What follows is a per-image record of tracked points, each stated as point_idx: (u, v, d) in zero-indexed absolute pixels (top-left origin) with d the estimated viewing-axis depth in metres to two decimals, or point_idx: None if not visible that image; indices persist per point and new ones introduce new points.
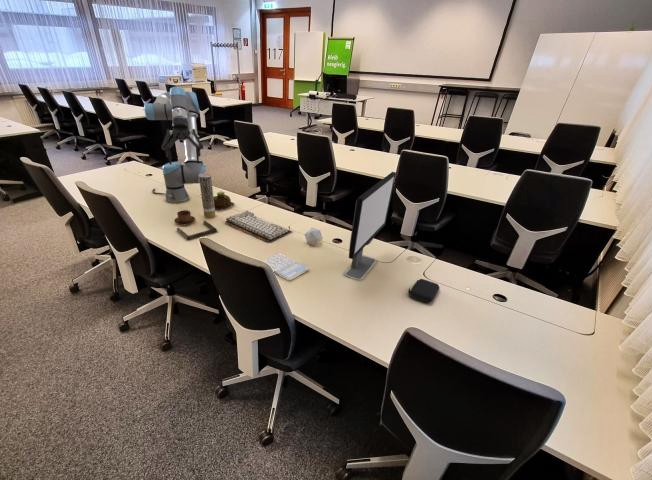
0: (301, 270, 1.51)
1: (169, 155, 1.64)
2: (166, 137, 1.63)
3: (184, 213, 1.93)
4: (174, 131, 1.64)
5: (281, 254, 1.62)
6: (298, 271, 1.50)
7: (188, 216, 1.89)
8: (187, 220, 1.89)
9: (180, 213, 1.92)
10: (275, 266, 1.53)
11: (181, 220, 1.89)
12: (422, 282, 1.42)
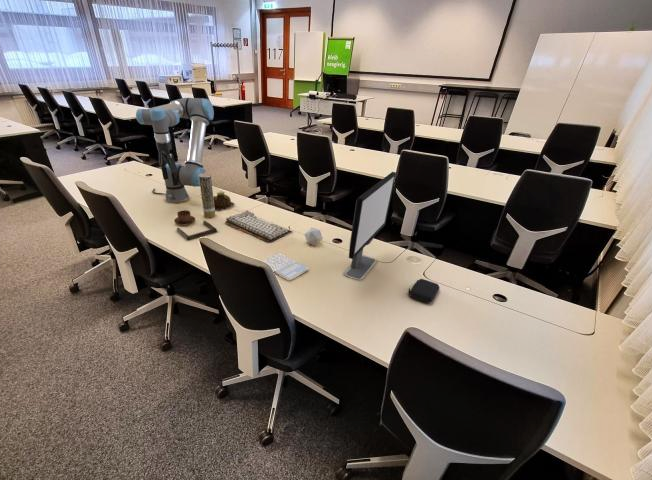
0: (301, 270, 1.51)
1: (162, 173, 1.89)
2: (159, 156, 1.85)
3: (184, 213, 1.93)
4: (161, 152, 1.80)
5: (281, 254, 1.62)
6: (298, 271, 1.50)
7: (188, 216, 1.89)
8: (187, 220, 1.89)
9: (180, 213, 1.92)
10: (275, 266, 1.53)
11: (181, 220, 1.89)
12: (422, 282, 1.42)
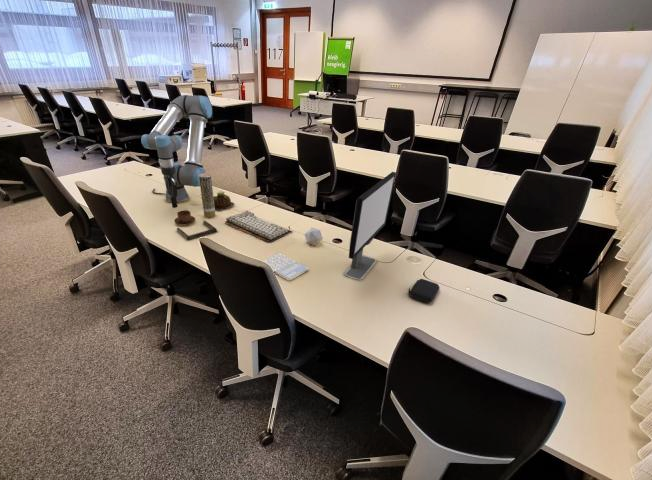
0: (301, 270, 1.51)
1: (171, 202, 1.94)
2: (166, 184, 1.91)
3: (184, 213, 1.93)
4: (165, 176, 1.88)
5: (281, 254, 1.62)
6: (298, 271, 1.50)
7: (188, 216, 1.89)
8: (187, 220, 1.89)
9: (180, 213, 1.92)
10: (275, 266, 1.53)
11: (181, 220, 1.89)
12: (422, 282, 1.42)
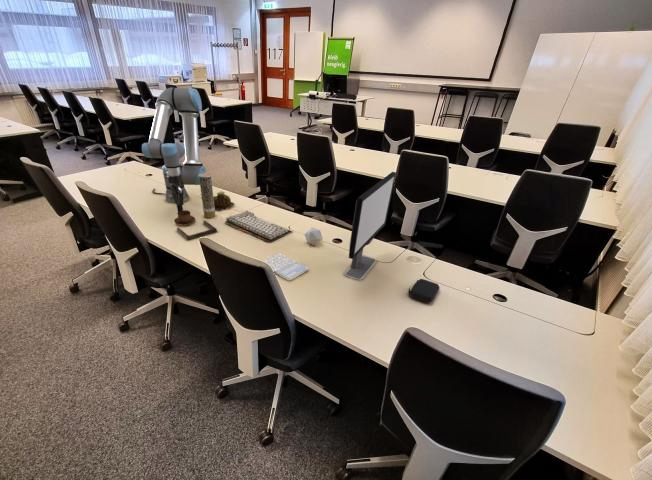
0: (301, 270, 1.51)
1: None
2: (172, 192, 1.88)
3: (184, 213, 1.93)
4: (171, 184, 1.85)
5: (281, 254, 1.62)
6: (298, 271, 1.50)
7: (188, 216, 1.89)
8: (187, 220, 1.89)
9: (180, 213, 1.92)
10: (275, 266, 1.53)
11: (181, 220, 1.89)
12: (422, 282, 1.42)
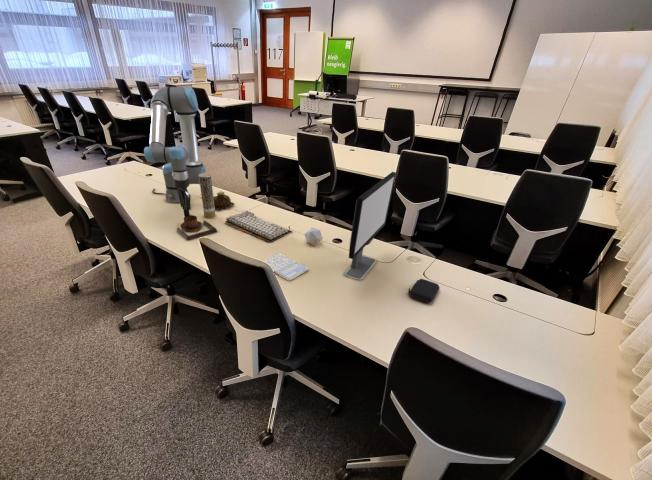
0: (301, 270, 1.51)
1: (184, 215, 1.86)
2: (178, 197, 1.83)
3: (191, 218, 1.88)
4: (178, 188, 1.79)
5: (281, 254, 1.62)
6: (298, 271, 1.50)
7: (194, 221, 1.83)
8: (193, 226, 1.84)
9: (187, 218, 1.87)
10: (275, 266, 1.53)
11: (187, 225, 1.83)
12: (422, 282, 1.42)
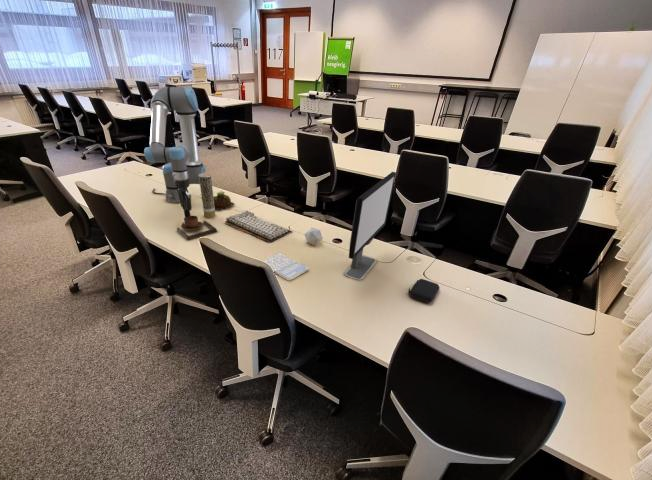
0: (301, 270, 1.51)
1: None
2: (179, 197, 1.83)
3: (192, 218, 1.87)
4: (178, 189, 1.79)
5: (281, 254, 1.62)
6: (298, 271, 1.50)
7: (195, 221, 1.82)
8: (193, 225, 1.82)
9: (188, 218, 1.86)
10: (275, 266, 1.53)
11: (187, 225, 1.82)
12: (422, 282, 1.42)
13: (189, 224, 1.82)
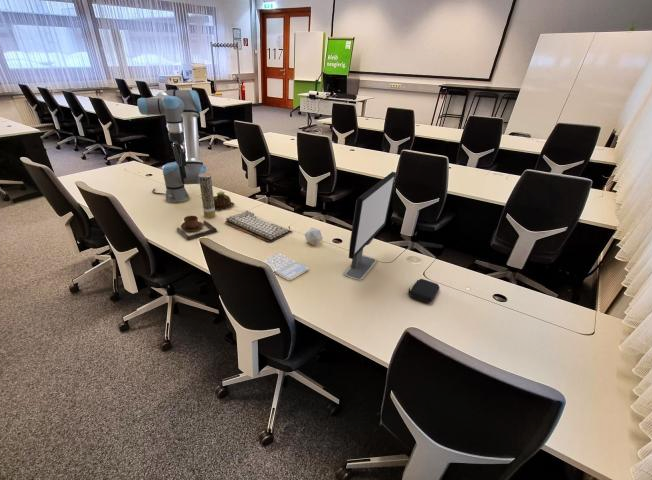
0: (301, 270, 1.51)
1: (180, 172, 1.80)
2: (174, 152, 1.77)
3: (192, 218, 1.87)
4: (173, 143, 1.73)
5: (281, 254, 1.62)
6: (298, 271, 1.50)
7: (195, 222, 1.82)
8: (193, 226, 1.83)
9: (187, 218, 1.86)
10: (275, 266, 1.53)
11: (187, 226, 1.83)
12: (422, 282, 1.42)
13: (189, 225, 1.82)
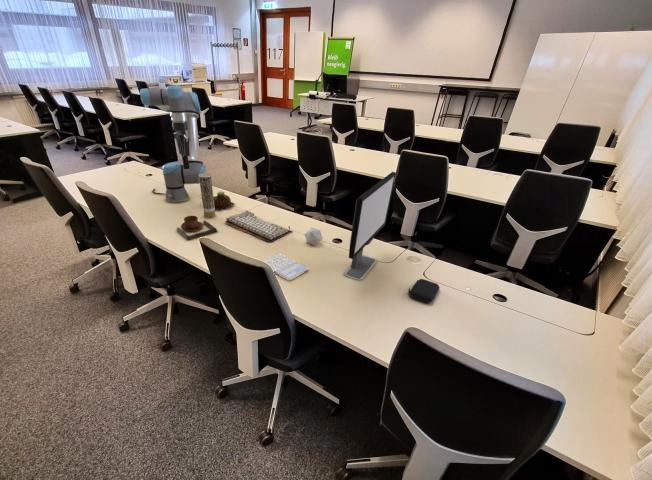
0: (301, 270, 1.51)
1: (183, 162, 1.81)
2: (177, 142, 1.78)
3: (192, 218, 1.87)
4: None
5: (281, 254, 1.62)
6: (298, 271, 1.50)
7: (195, 222, 1.82)
8: (193, 226, 1.83)
9: (187, 218, 1.86)
10: (275, 266, 1.53)
11: (187, 226, 1.83)
12: (422, 282, 1.42)
13: (189, 225, 1.82)
